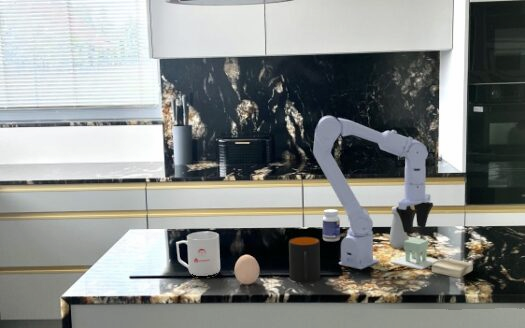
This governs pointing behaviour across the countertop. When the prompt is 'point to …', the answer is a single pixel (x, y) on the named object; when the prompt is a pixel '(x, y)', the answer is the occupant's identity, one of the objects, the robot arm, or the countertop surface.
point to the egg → (246, 269)
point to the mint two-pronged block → (416, 249)
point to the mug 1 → (202, 253)
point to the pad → (414, 262)
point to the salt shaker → (397, 231)
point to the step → (452, 267)
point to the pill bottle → (331, 225)
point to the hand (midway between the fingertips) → (414, 229)
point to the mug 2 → (304, 259)
